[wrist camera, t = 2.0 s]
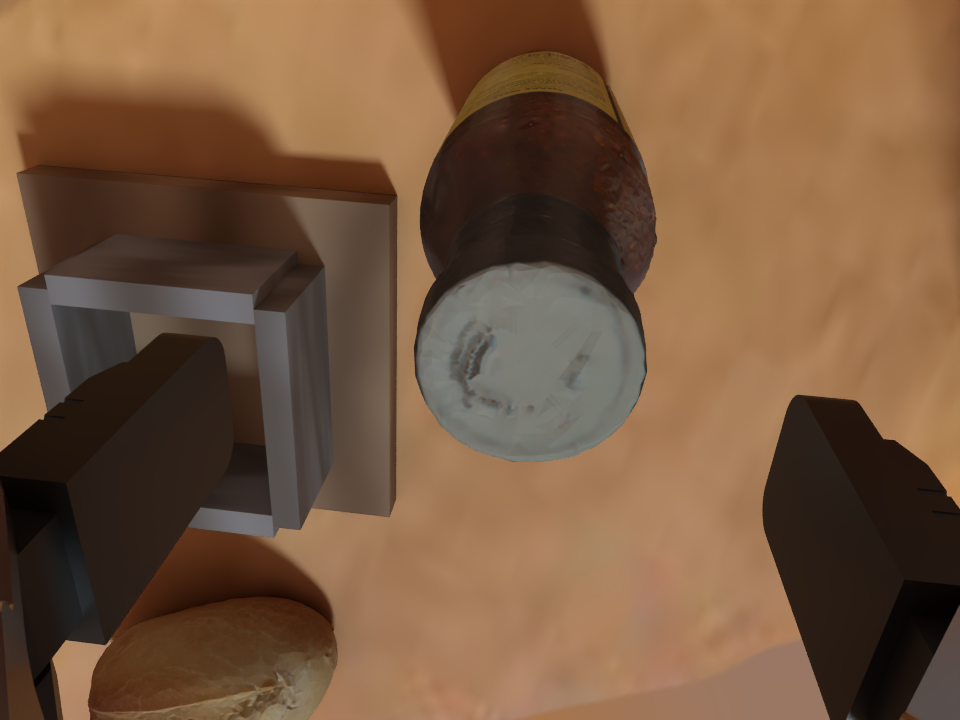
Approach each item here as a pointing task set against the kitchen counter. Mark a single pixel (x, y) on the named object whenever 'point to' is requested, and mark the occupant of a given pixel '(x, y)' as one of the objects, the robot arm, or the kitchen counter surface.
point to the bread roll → (218, 664)
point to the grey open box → (233, 322)
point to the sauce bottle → (535, 264)
